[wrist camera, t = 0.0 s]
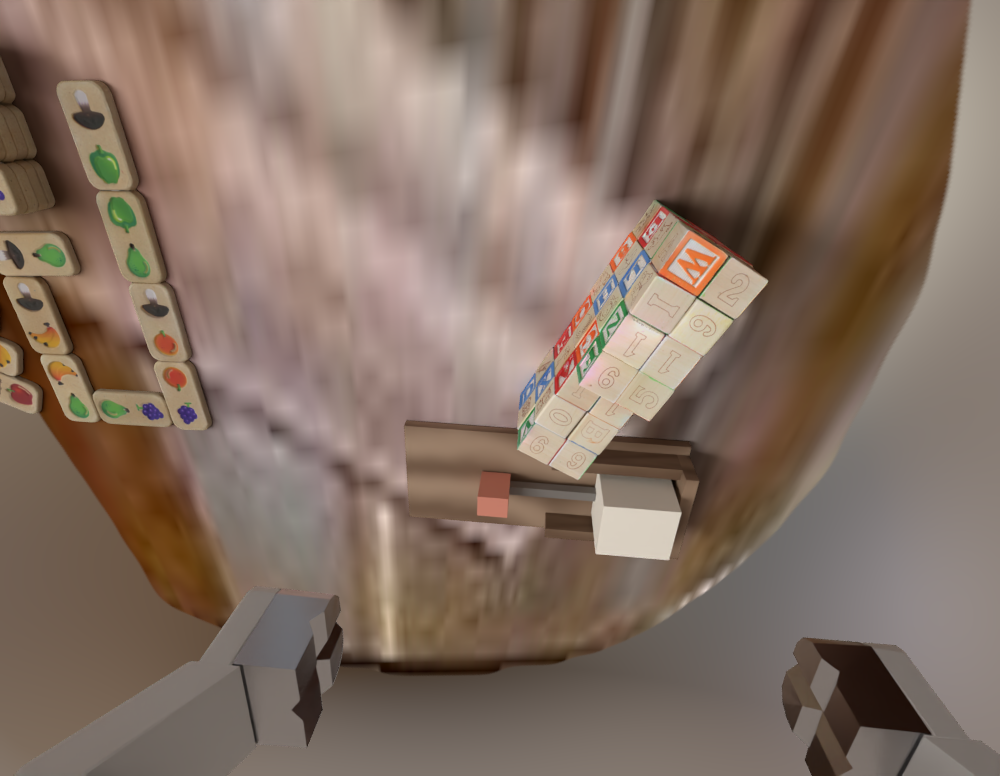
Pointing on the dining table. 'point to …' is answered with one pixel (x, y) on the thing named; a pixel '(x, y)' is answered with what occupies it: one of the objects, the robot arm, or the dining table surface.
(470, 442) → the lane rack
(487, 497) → the block
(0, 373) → the pile of dominoes
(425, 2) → the dining table surface
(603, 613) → the dining table surface
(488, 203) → the dining table surface
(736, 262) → the stack of blocks
